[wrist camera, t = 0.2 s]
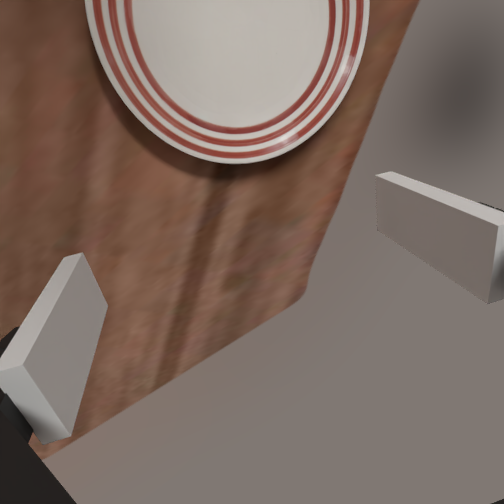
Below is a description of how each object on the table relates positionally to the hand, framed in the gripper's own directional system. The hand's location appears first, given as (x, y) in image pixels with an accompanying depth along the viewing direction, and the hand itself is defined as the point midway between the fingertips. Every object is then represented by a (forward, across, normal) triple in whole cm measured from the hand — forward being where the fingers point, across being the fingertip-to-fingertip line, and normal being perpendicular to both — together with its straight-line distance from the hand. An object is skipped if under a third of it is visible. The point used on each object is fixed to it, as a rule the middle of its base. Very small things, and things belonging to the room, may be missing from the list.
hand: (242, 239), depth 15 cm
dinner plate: (+28, +7, +11) cm, 31 cm away
